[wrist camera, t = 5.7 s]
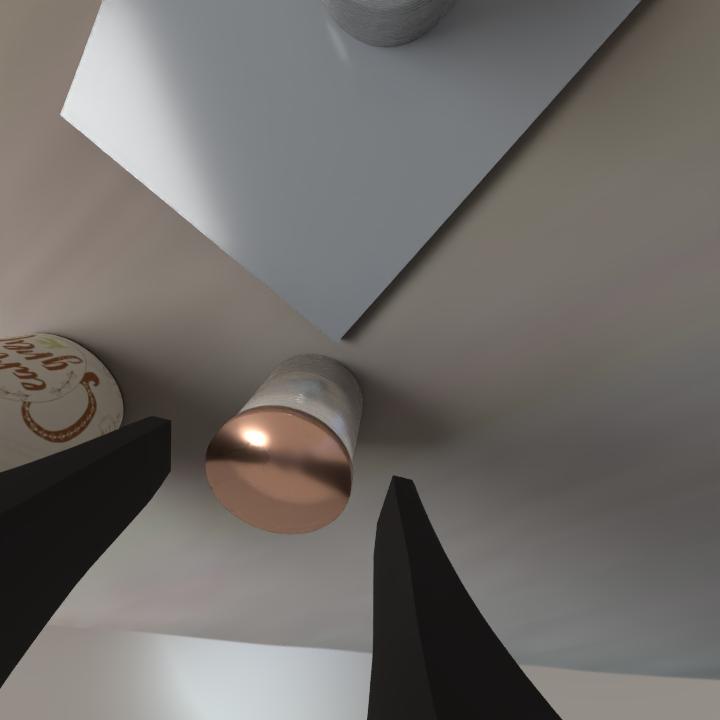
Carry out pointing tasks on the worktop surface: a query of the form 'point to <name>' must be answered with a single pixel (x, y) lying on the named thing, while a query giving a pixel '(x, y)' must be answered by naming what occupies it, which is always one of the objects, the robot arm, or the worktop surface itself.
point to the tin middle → (387, 19)
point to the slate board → (322, 125)
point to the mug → (52, 398)
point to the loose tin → (290, 448)
